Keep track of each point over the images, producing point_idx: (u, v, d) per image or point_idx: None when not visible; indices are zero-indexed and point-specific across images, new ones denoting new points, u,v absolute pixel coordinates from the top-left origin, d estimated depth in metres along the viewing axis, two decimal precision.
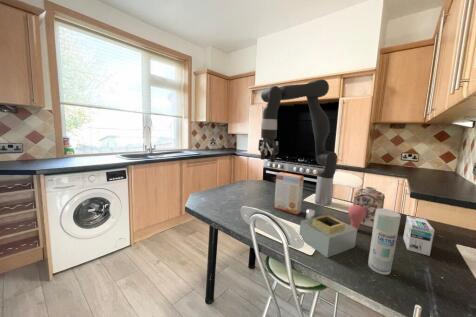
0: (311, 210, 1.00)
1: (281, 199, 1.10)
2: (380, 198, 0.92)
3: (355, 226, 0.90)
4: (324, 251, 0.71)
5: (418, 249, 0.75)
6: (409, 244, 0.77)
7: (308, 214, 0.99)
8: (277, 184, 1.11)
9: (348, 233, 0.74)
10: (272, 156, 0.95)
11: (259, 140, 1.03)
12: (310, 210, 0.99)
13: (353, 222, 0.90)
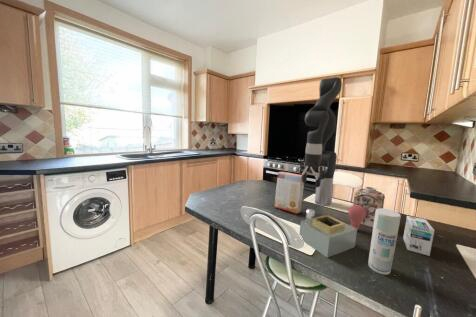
0: (311, 210, 1.00)
1: (282, 198, 1.10)
2: (380, 198, 0.92)
3: (355, 226, 0.90)
4: (324, 251, 0.71)
5: (418, 249, 0.75)
6: (409, 244, 0.77)
7: (308, 214, 0.99)
8: (278, 183, 1.12)
9: (348, 233, 0.74)
10: (317, 181, 0.93)
11: (301, 163, 1.02)
12: (310, 210, 0.99)
13: (353, 222, 0.90)
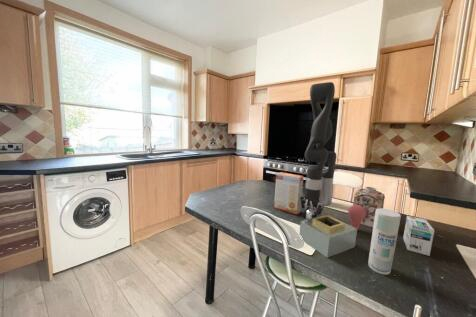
0: (311, 210, 1.00)
1: (281, 199, 1.10)
2: (380, 198, 0.92)
3: (355, 226, 0.90)
4: (324, 251, 0.71)
5: (418, 249, 0.75)
6: (409, 244, 0.77)
7: (308, 214, 0.99)
8: (277, 184, 1.11)
9: (348, 233, 0.74)
10: (314, 216, 0.97)
11: (300, 197, 1.04)
12: (311, 210, 0.99)
13: (353, 222, 0.90)
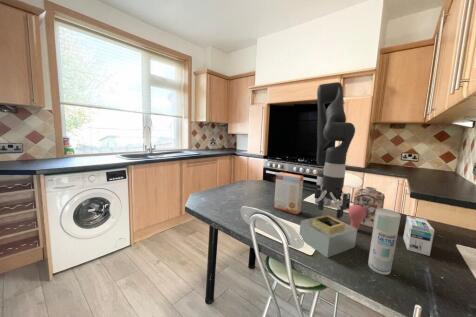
0: None
1: (281, 199, 1.10)
2: (380, 198, 0.92)
3: (355, 226, 0.90)
4: (324, 251, 0.71)
5: (418, 249, 0.75)
6: (409, 244, 0.77)
7: None
8: (277, 184, 1.11)
9: (348, 233, 0.74)
10: (340, 211, 0.73)
11: (316, 185, 0.82)
12: None
13: (353, 222, 0.90)
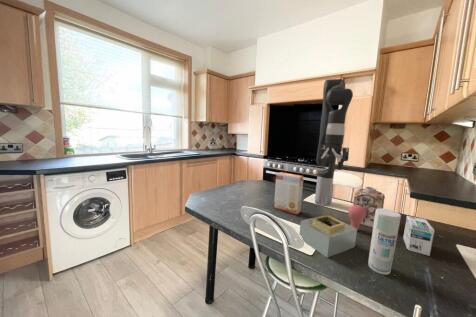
0: None
1: (281, 199, 1.10)
2: (380, 198, 0.92)
3: (355, 226, 0.90)
4: (324, 251, 0.71)
5: (418, 249, 0.75)
6: (409, 244, 0.77)
7: None
8: (277, 184, 1.11)
9: (348, 233, 0.74)
10: (340, 163, 0.88)
11: (320, 145, 0.96)
12: None
13: (353, 222, 0.90)
